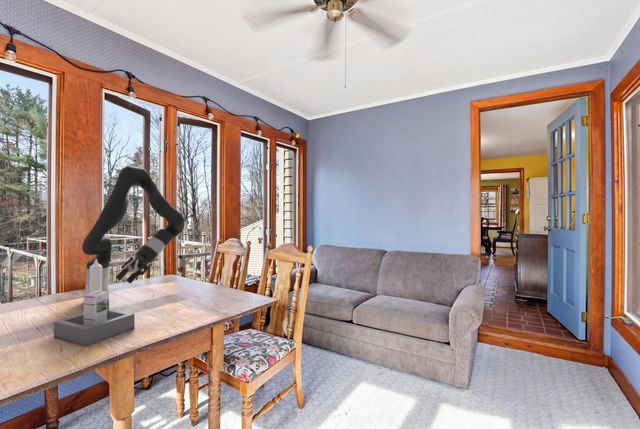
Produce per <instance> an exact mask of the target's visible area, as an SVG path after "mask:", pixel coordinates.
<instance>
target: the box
mask: <svg viewBox="0 0 640 429" xmlns="http://www.w3.org/2000/svg"><path fill="white" fill-rule="evenodd" d="M135 315H136V314H135V313H133V312H129V311H124V310H120V309H119V310H118V309H114V308H110V307H109V320H108V321H105V322H102V323H98V324H95V325H92V326H89V327H88V326H84V312H83V313H80V314H76V315H72V316H69V317H66V318H62V319H59V320H54V322H53V339H57V340H61V341H64V342H66V343H71V344H73V345H77V346H78V345H79V346H81V347H85V348H87V347H90V346H92V345H95V344H97V343H100V342H102V341H105V340H108V339H111V338H113V337H115V336H116V337H117V336H118V335H121V334H123V333H126V332H130V331H132V330H134V329H135V324H136V323H135Z"/></svg>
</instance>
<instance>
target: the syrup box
mask: <svg viewBox="0 0 640 429" xmlns="http://www.w3.org/2000/svg"><path fill="white" fill-rule="evenodd" d="M109 308H110V292H108V291H96V292H92V293H88V294H83V313H84V326H88V327H89V326H92V325H95V324H98V323H102V322H105V321H108V320H109Z"/></svg>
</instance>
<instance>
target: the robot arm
mask: <svg viewBox="0 0 640 429" xmlns="http://www.w3.org/2000/svg"><path fill="white" fill-rule="evenodd" d="M132 187H140V188H141V189H142V190H144V192H145V193H146V194H147V199H148V202H149V205H150V207H151V208H152V209H153V210H154V211H155V212H156V213H157V214H158V216H159V217H160V218H164V219H165V221H166V222H167V225H166V226H164V228H160V229H158V230H157V231H156V232H155V233H154V235H152V237H150V238H149V239H148V240H146V242H145V243H143V245H142V246H141V247H140V248H139V249H138V250H137V251H136V257H135V258H134V257H133V256H131V257H130V258H129V259H128V260H127V261H125V263H123V265H122V266H121V267H120V269H121V271H120V272H119V273H117V275H116V276H115V278H116V279H117V280H118V281H121V280H122V279H123V278H124V277H125V276H126V275H127V274H128V273H129V272H132V273H131V274H130V275H129V276H128V277H127V278H126V280H125V281H126V282H127V283H128V284H132V283H133V282H134V281H135V280H136V279H137V277H139V276H144V274H145V273H146V272H147V271H148V270H149V269H150V267H151V266H152V263H153V262H154V261H155V260H156V259H157V258H158V256H160V255H161V253H162V252H163V251H164V249H165V248H166V246H168V244H169V243H170V242H171V241H172V240H173V239H174V238H176V237H177V236H179V234H180V233H182V231H183V230H184V228H185V217H184V216H183V215H182V213H181V212H180V211H178V210H177V209H176V208H174V206H172V204H171V203H170V202H169V201H168V200H167V199H166V198H165V197H164V196H163V194H162V192H160V190H159V188H158V187H157V185H156V184H155V182H154V181H153V178H152V177H151V175H150V174H149V172H148V171H147V170H146V169H145V168H143V167H139V166H132V165H131V166H130V165H128V166H124V167H123V168H122V169H121V170H120V172H119V173H118V177H117V179H116V182H115V185H114V187H113V189H112V191H111V194H110V196H109V197H108V199H107V202H106V203H105V204H104V207H103V208H102V210H101V212H100V215H99V217H98V218H97V220H96V222H95V224H94V225H93V226H92V228H91V229H90V231H89V232H88V234H87V235H86V237H85V238H84V240H83V243H82V245H81V246H82V248H81V249H82V251H83V254H85V255H87V256H95V255H96V256H95V257H93V259H91V260H90V261H88V262H87V263H86V282H85V290H84V291H85V294H88V293H89V283H90V266H92V265H93V264H94V262H95V259H97V262H98V264H100V265H102V291H108V292H109V291H110V290H109V285H110V263H111V259H112V246H113V245H112V240H111V238H110V237H109V236H106V234H107V233H108V232H109V231H111V230H112V229H114V228H115V227H116V226H118V224H120V222H121V221H122V220H123V219H124V217H125V215H126V214H127V211H128V202H127V201H128V200H127V196H128V193H129V191H130V190H131V188H132ZM109 293H110V292H109Z"/></svg>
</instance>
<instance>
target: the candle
mask: <svg viewBox="0 0 640 429" xmlns="http://www.w3.org/2000/svg"><path fill="white" fill-rule="evenodd" d="M96 291H102V265H100V264H98V262H97V259H95V262H94V264H93V265H92V266H90V283H89V293H92V292H96Z"/></svg>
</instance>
